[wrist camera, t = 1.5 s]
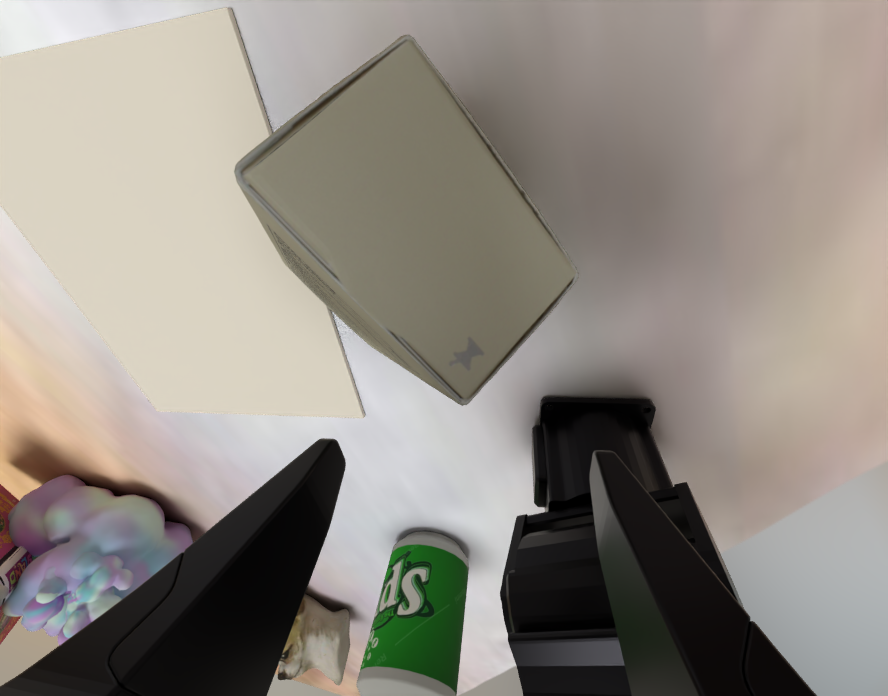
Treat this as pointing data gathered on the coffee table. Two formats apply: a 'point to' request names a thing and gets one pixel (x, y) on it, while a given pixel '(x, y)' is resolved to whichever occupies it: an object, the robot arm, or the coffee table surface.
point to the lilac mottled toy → (77, 553)
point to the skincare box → (408, 222)
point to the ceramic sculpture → (316, 642)
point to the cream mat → (166, 218)
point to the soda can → (418, 620)
